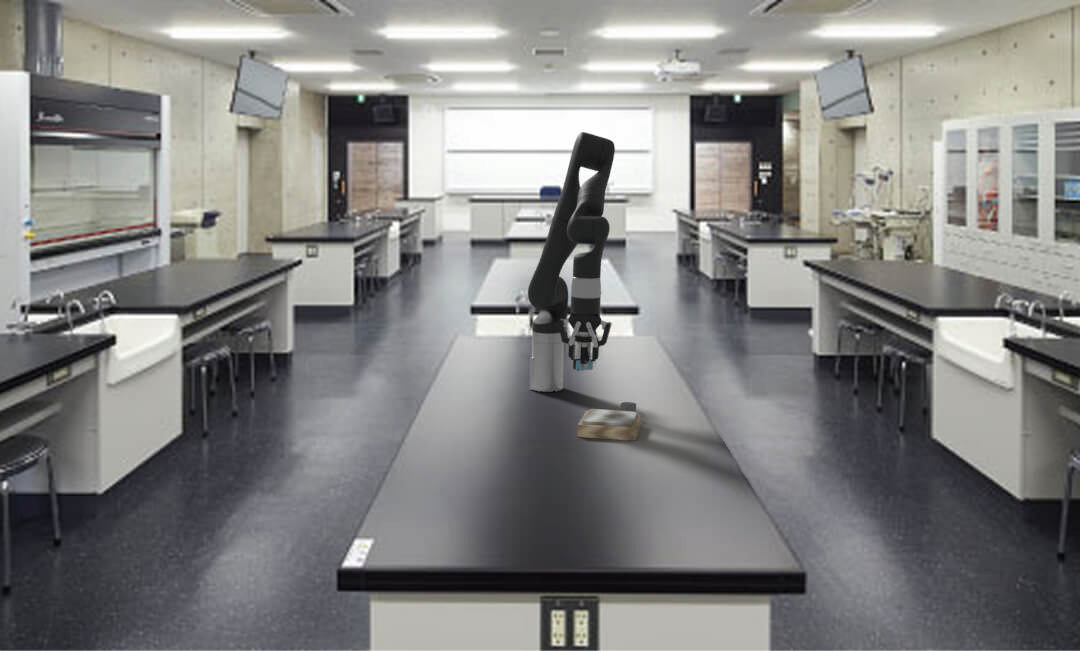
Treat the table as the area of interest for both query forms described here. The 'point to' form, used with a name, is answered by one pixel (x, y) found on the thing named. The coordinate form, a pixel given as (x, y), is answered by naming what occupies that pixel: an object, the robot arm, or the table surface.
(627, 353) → the table surface
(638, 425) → the base block
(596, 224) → the robot arm
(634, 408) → the rubber stopper
